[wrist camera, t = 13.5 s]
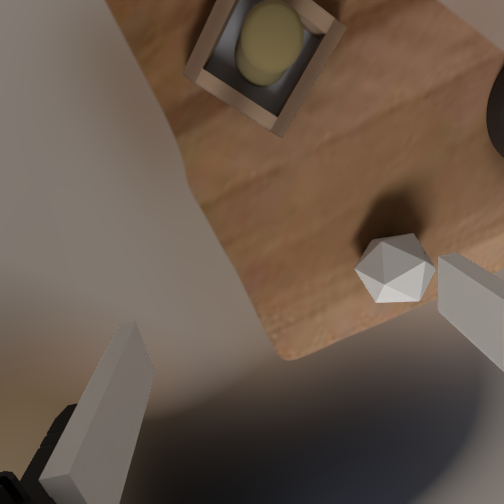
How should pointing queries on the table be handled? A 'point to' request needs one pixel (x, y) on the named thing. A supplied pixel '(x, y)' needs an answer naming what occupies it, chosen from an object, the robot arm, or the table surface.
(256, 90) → the wooden tray
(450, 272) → the robot arm
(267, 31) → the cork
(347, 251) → the table surface
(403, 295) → the die
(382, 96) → the table surface
